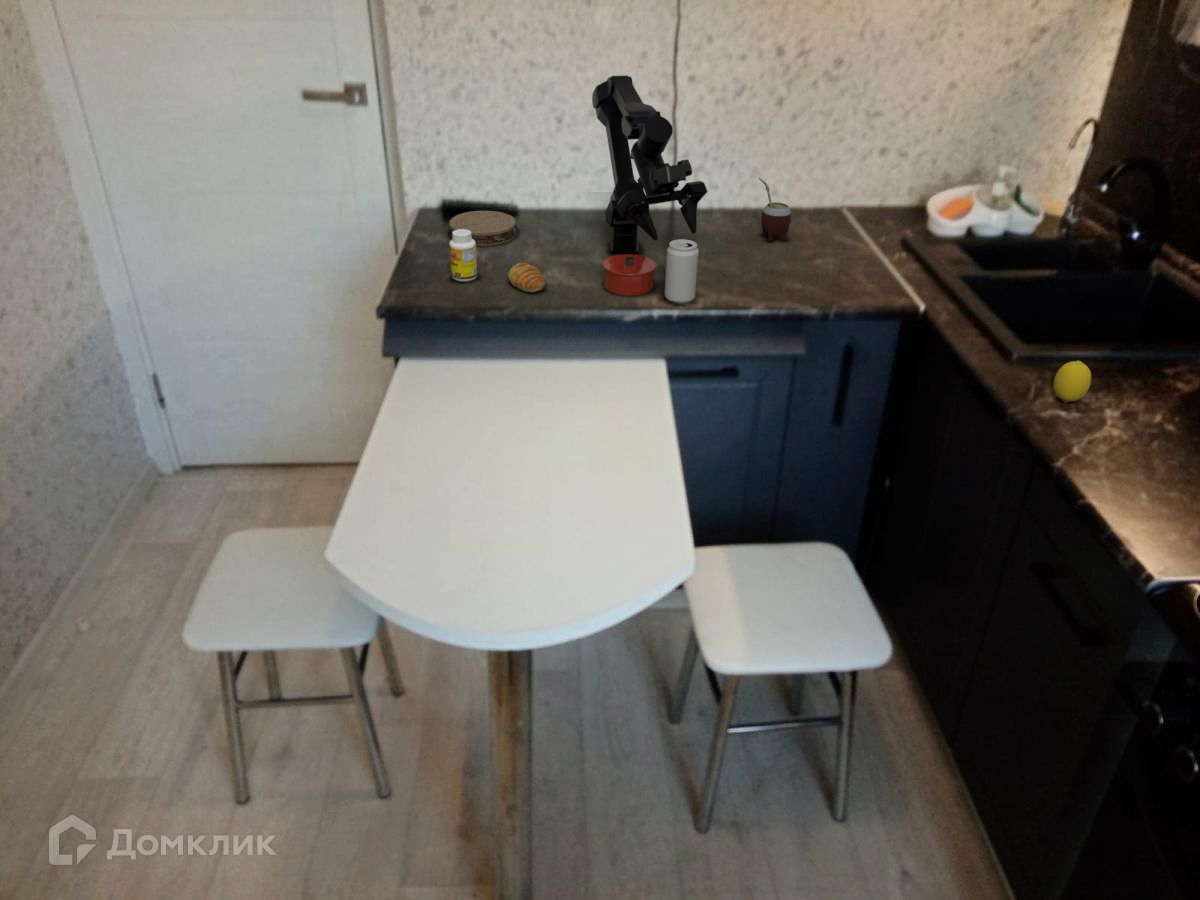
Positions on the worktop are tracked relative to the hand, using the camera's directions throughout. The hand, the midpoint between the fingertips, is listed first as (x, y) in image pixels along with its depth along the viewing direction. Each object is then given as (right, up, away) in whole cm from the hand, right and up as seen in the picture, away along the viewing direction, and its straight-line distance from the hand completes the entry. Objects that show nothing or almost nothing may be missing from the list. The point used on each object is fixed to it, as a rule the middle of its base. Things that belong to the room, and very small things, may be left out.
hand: (675, 236), depth 186 cm
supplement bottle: (-45, -6, +12) cm, 47 cm away
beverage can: (+1, -12, +5) cm, 13 cm away
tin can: (-44, +8, +34) cm, 56 cm away
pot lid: (-9, -5, +8) cm, 13 cm away
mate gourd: (+26, +8, +36) cm, 45 cm away
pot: (-9, -8, +10) cm, 16 cm away
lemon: (+65, -36, -28) cm, 79 cm away
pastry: (-31, -8, +10) cm, 33 cm away
